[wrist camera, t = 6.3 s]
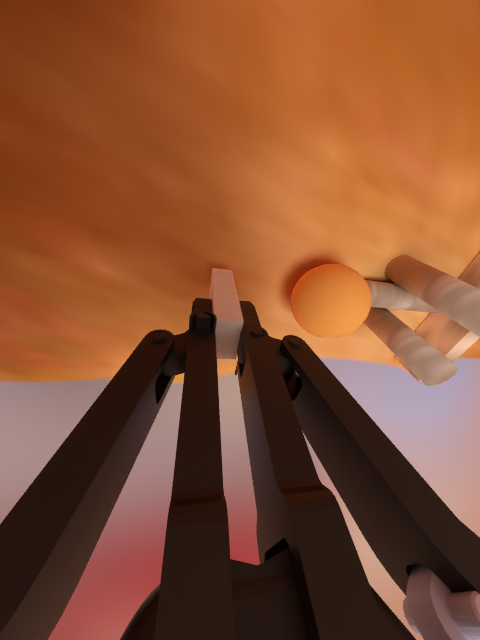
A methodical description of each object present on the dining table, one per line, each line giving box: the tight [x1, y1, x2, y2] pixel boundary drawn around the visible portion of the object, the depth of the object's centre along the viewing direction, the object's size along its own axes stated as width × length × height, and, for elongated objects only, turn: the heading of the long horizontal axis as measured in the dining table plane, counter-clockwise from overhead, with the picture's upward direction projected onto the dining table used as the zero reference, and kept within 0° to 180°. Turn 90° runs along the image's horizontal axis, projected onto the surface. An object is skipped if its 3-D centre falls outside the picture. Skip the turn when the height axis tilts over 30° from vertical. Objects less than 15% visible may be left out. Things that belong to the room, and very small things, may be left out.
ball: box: [291, 264, 371, 338], centre depth 17 cm, size 6×6×6 cm
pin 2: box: [364, 307, 458, 386], centre depth 19 cm, size 2×2×8 cm
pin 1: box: [385, 255, 480, 337], centre depth 16 cm, size 2×2×8 cm
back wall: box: [395, 253, 480, 382], centre depth 21 cm, size 18×2×4 cm, turn 171°
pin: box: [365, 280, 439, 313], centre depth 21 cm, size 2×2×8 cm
